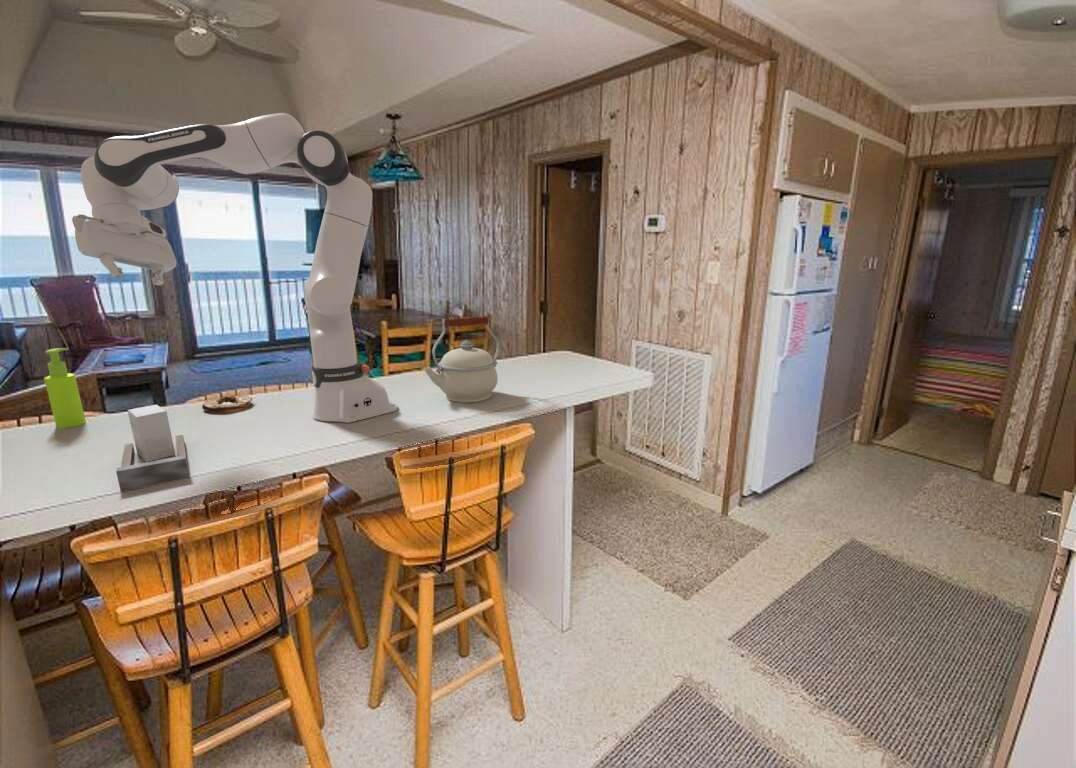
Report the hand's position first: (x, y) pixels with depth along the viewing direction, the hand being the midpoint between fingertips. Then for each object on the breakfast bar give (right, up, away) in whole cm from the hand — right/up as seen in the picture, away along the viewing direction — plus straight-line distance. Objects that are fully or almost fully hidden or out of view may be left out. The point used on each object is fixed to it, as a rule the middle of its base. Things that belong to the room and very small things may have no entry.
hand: (139, 280), depth 117 cm
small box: (+5, -40, -1) cm, 40 cm away
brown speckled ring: (+1, -31, +33) cm, 45 cm away
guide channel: (+8, -41, -6) cm, 42 cm away
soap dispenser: (-32, -34, +19) cm, 50 cm away
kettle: (+68, -28, +43) cm, 85 cm away
